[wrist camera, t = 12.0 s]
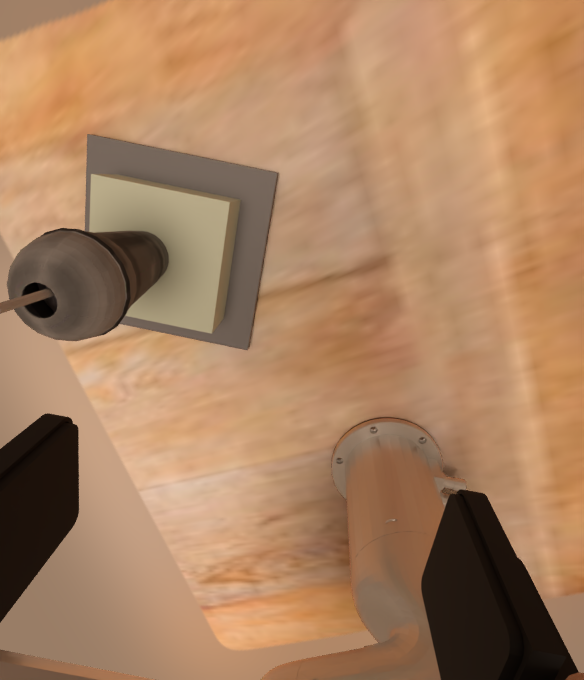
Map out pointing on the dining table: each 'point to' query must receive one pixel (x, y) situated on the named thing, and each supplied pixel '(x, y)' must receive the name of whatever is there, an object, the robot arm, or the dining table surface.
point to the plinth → (206, 181)
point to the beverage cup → (82, 280)
